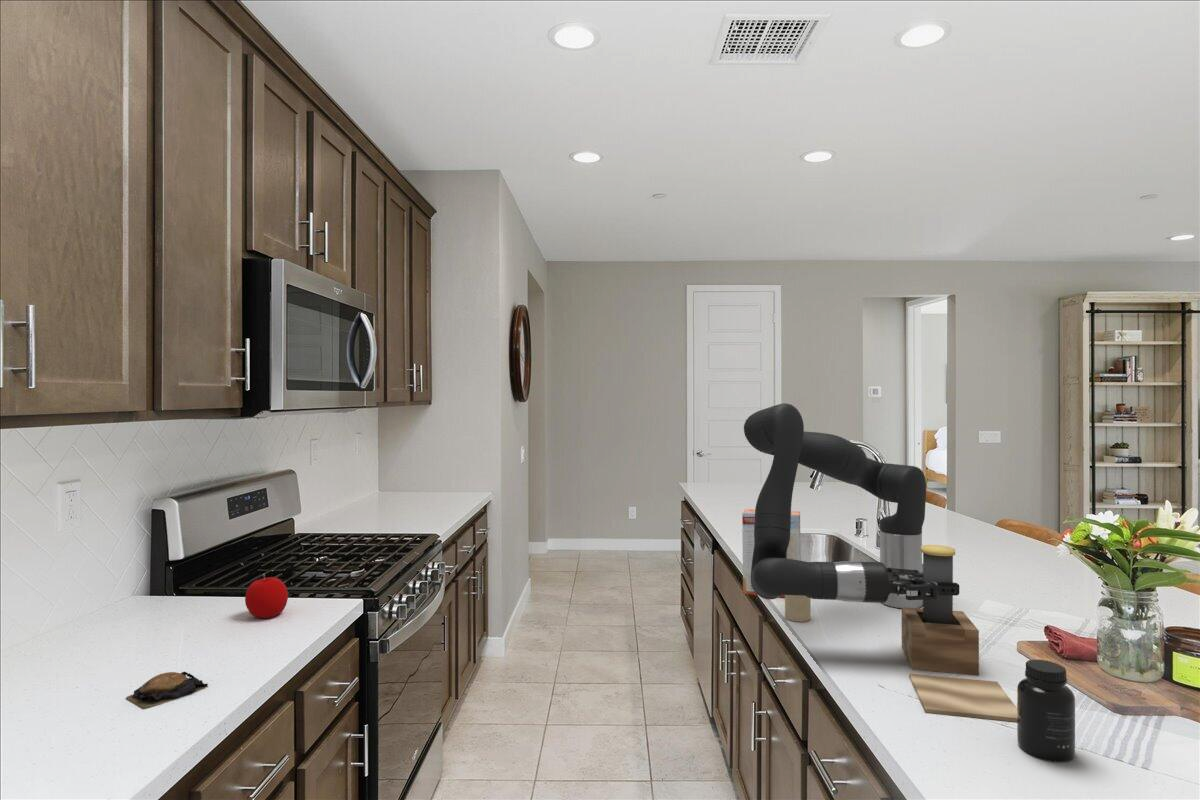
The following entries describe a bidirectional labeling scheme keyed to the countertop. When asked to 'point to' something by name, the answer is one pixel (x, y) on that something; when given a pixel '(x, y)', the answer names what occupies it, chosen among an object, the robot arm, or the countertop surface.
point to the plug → (938, 570)
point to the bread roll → (165, 689)
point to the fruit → (266, 597)
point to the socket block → (940, 643)
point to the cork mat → (963, 697)
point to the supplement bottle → (1046, 712)
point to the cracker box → (748, 545)
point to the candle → (797, 608)
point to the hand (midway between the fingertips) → (952, 584)
